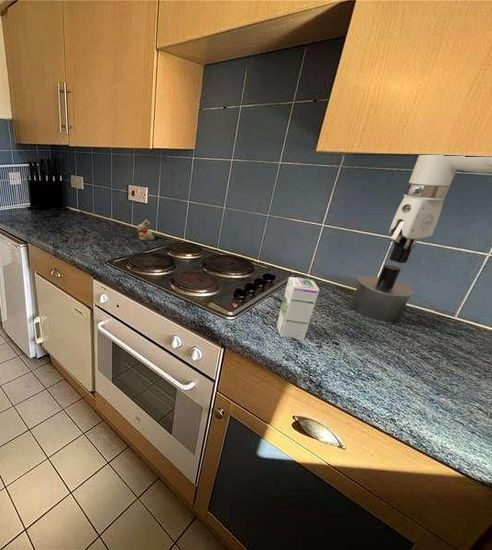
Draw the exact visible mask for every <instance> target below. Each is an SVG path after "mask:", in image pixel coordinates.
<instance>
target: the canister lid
mask: <svg viewBox="0 0 492 550" xmlns="http://www.w3.org/2000/svg"><path fill="white" fill-rule="evenodd" d="M401 270H402V268H401V267H398V266H395V265H390V264H385V265H383V267H382V270H381V272H380V275H379V276H370V275H369V276H366V275H365V276H360V277H358V278H357V281H356V282H357V284H358V285H359V284H360V285H361V286H362V287H364V288H366V289H368V290H371V291H374V292H376V293H380V294H383V295H388V296H393V297H401V298H407V297H409V298H412V297H413V296H414V295H415V291H414V289H413V288H411V287H410V286H407V285H405V284H403V283H401V282H398V281H397V280H398V278H399V275H400V273H401Z"/></svg>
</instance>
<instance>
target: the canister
mask: <svg viewBox="0 0 492 550" xmlns="http://www.w3.org/2000/svg"><path fill="white" fill-rule="evenodd" d="M409 299H410V297H407V298H401V297H393V296H388V295H383V294H380V293H376V292H374V291H371V290H368V289H366V288H364V287H362V286H361V285H360V284H359V283H358V285H357V288H356V290H355V293H354V295H353V297H352V301H351V303H350V306H349V307H350V310H352V311H354V312H356V313H358V314H359V315H361V316H362V317H366V318H368V319H372V320H375V321H379V322H382V323H391V324H397V323H398V322H399V321H400V319H401V316H402V315H403V312H404V310H405V308H406V306H407V304H408V302H409Z"/></svg>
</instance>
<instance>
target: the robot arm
mask: <svg viewBox="0 0 492 550" xmlns="http://www.w3.org/2000/svg"><path fill="white" fill-rule="evenodd" d="M416 159H417V160H416V162H415V164H414V167H413V170H412V173H411V176H410V178H409V181H408V183H407V185H406V189H405V190H404V194H403V199H402V201H401V202H400V204H399V206H398V208H397V210H396V212H395V214H394V217H393V219H392V222H391V224H390V228H389V231H388V232H389V234H390V235H391V237H390V240H389V241H391V242H393V248H392V251H391V254H390V256H389V260H390V261H392V262H395V263H398V264H405V263H407V262H408V260H409V258H410V254H411V252H412V249H413V248H415V246H416V243H417V242H418V241H421V240H423V239H427V238H429V237H431V236H432V235H433V234H434V232H435V229H436V227H437V224H438V221H439V218H440V216H441V212H442V208H443V205H444V200H445V198H446V196H447V193H448V191H449V189H450V186H451V185H452V182H453V180H454V178H455V175H456V173H457V171H463V172H470V173H471V172H472V173H477V174H492V157H465V156H444V155H419V154H418V156H417V158H416Z"/></svg>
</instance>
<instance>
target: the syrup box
mask: <svg viewBox="0 0 492 550" xmlns="http://www.w3.org/2000/svg"><path fill="white" fill-rule="evenodd" d="M319 293H320V288H319V286H318V285H317V283H316V282H315V281H314V279H310V278H306V277H297V276H289V277H288V280H287V283H286V287H285V291H284V295H283V298H282V302H281V306H280V310H279V314H278V318H277V321H276V329H277V332H278V335H279V337H280V338H284V339H285V338H287V337H288V338H292V339H298V340H305V338H306V335H307V331H308V328H309V325H310V322H311V319H312V315H313V312H314V309H315V307H316V302H317V299H318V296H319Z"/></svg>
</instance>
